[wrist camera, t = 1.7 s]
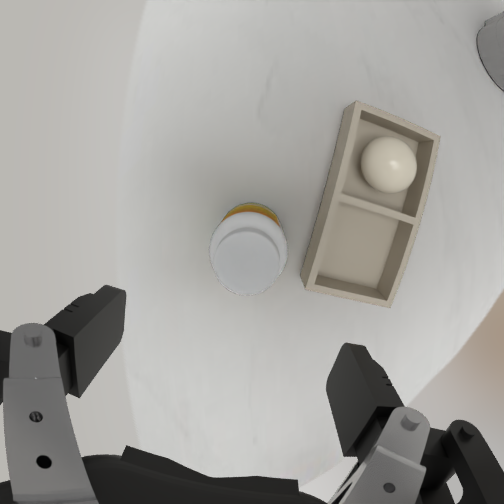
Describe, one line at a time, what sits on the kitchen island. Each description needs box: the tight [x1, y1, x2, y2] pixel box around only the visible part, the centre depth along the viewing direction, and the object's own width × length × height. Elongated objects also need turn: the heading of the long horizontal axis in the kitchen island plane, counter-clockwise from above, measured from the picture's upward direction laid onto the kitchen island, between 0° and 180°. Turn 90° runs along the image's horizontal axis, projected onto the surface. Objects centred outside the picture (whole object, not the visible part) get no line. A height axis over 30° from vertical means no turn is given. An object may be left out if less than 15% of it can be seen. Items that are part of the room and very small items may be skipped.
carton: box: [300, 101, 440, 308], centre depth 25 cm, size 16×8×4 cm, turn 166°
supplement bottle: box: [209, 203, 288, 296], centre depth 23 cm, size 5×5×10 cm
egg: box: [361, 136, 417, 194], centre depth 23 cm, size 5×5×5 cm
